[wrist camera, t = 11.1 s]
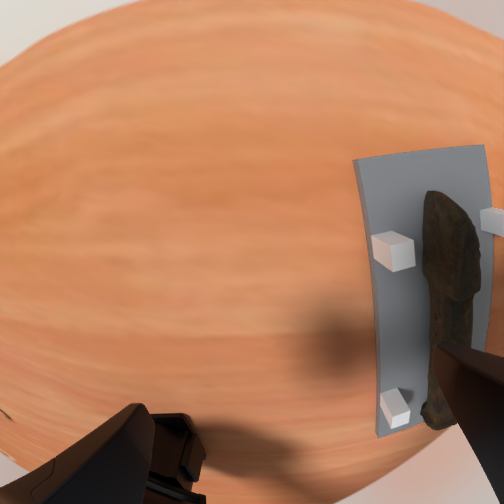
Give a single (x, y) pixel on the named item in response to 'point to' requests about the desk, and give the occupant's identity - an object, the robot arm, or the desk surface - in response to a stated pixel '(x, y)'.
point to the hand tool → (448, 288)
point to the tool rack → (417, 264)
